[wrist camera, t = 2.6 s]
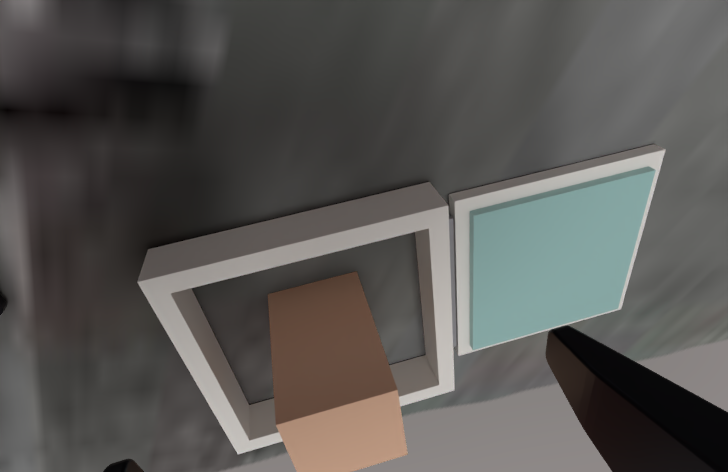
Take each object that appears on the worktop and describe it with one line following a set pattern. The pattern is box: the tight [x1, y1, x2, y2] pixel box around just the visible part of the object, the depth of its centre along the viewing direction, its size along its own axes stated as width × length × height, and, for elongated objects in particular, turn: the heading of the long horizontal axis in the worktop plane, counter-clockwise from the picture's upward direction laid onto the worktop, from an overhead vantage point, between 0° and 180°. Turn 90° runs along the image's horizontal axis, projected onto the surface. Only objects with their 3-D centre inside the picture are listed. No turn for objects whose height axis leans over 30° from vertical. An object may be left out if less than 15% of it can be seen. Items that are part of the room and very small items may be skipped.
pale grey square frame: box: [137, 182, 455, 454], centre depth 24 cm, size 14×15×2 cm
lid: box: [449, 144, 666, 356], centre depth 26 cm, size 13×12×1 cm
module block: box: [268, 271, 408, 472], centre depth 22 cm, size 5×5×8 cm
